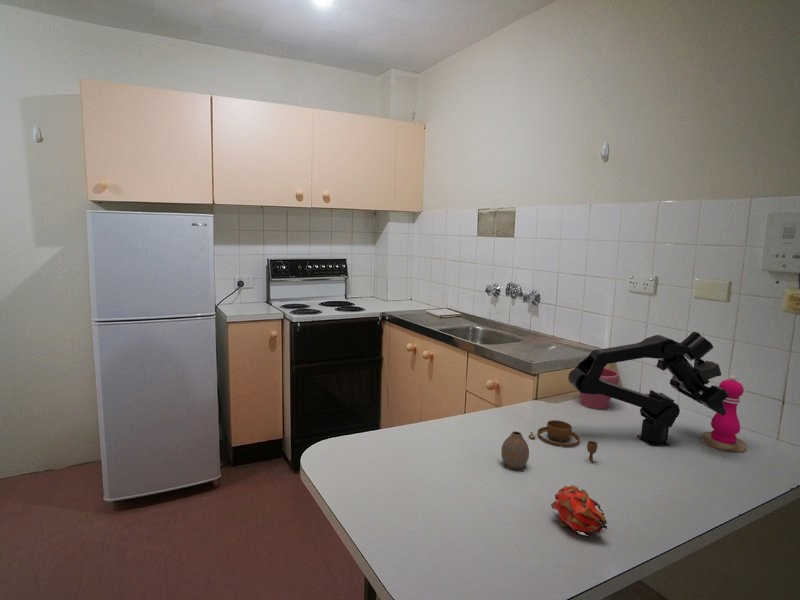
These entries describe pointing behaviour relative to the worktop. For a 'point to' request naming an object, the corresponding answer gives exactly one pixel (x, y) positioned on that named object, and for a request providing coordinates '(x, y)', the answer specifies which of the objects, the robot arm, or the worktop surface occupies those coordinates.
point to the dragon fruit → (578, 510)
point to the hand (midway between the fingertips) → (713, 408)
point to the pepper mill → (728, 413)
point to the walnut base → (723, 444)
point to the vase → (515, 451)
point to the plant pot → (599, 399)
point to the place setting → (563, 436)
